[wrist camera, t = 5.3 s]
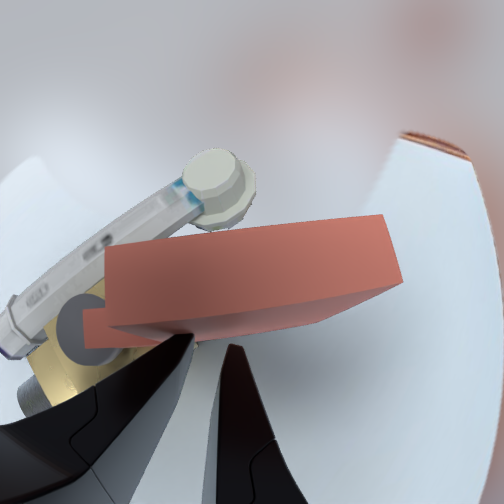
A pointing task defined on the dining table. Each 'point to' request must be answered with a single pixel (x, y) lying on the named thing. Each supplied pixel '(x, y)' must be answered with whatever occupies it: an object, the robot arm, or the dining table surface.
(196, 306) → the lever
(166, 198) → the white flashlight
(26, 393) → the valve
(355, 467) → the dining table surface
